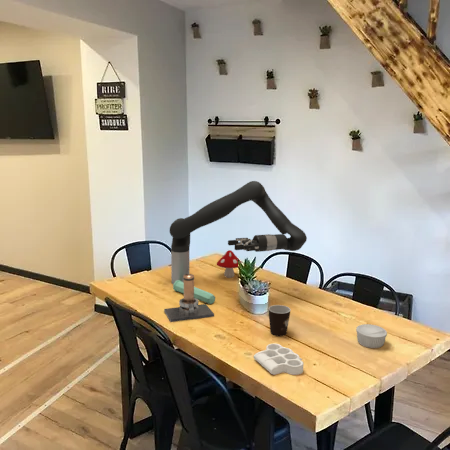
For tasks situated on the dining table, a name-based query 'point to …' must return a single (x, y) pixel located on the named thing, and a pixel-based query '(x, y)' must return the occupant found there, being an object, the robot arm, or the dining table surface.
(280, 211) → the robot arm
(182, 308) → the stove plate
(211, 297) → the container
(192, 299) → the metal tube
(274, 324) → the coffee mug
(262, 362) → the grey compartment tray
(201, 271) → the dining table surface
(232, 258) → the decorative mushroom
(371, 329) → the ramekin
